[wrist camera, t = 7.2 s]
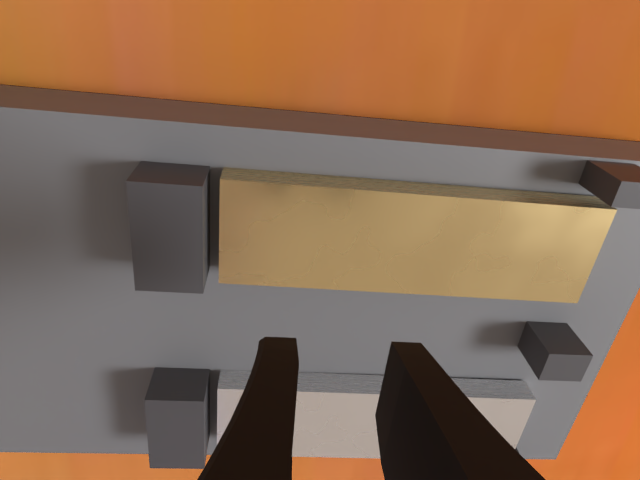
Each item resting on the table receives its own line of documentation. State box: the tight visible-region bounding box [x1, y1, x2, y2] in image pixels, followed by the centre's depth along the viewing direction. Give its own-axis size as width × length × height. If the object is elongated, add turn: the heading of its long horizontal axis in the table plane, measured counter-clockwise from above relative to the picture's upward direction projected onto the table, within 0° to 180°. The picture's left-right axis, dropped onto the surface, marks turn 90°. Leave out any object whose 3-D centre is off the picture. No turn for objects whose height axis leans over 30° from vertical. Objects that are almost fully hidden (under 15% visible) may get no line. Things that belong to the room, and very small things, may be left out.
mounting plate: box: [0, 85, 640, 469], centre depth 18 cm, size 14×24×4 cm, turn 84°
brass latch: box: [219, 167, 617, 303], centre depth 16 cm, size 12×4×1 cm, turn 84°
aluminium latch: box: [217, 369, 536, 458], centre depth 20 cm, size 12×4×1 cm, turn 84°
